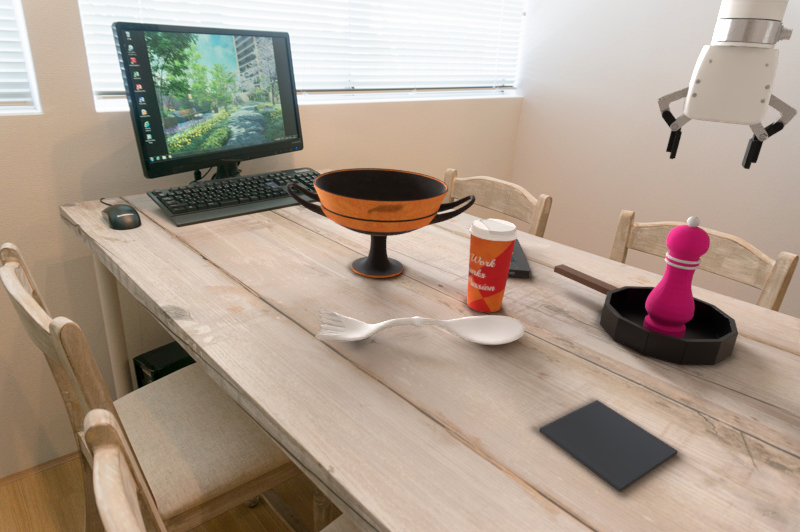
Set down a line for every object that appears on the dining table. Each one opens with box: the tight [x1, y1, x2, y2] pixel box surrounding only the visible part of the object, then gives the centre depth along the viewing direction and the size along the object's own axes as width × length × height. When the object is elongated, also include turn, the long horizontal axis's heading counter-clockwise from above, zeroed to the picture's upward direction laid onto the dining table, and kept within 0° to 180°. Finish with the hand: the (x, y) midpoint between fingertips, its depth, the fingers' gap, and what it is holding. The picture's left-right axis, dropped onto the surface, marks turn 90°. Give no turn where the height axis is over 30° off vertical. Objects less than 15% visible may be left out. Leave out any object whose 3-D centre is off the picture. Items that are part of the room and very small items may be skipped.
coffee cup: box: [466, 217, 519, 314], centre depth 91 cm, size 8×8×15 cm
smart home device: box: [508, 238, 531, 279], centre depth 116 cm, size 8×2×20 cm
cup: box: [286, 167, 476, 279], centre depth 104 cm, size 36×26×18 cm
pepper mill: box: [643, 215, 711, 338], centre depth 84 cm, size 7×7×20 cm
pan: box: [553, 263, 739, 366], centre depth 92 cm, size 33×20×4 cm, turn 34°
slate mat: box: [539, 399, 679, 492], centre depth 62 cm, size 11×11×1 cm
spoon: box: [314, 307, 525, 346], centre depth 81 cm, size 9×32×4 cm, turn 96°
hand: (707, 162), depth 78 cm, fingers open, 9 cm apart
